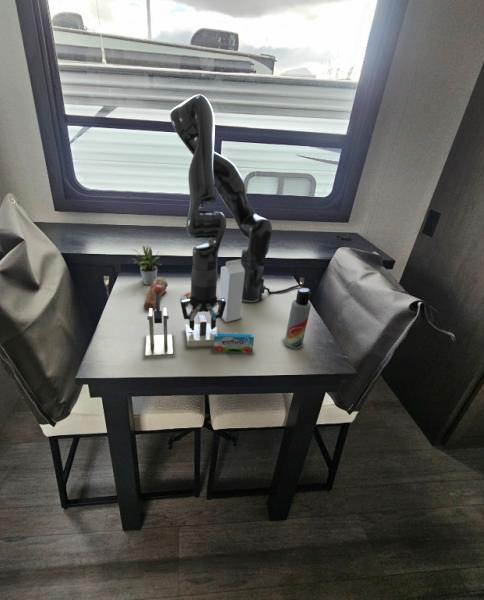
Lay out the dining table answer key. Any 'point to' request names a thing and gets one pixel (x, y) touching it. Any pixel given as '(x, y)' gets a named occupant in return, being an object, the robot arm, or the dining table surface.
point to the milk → (232, 289)
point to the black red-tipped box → (202, 325)
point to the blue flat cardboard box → (233, 343)
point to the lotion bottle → (298, 319)
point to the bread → (151, 297)
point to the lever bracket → (158, 338)
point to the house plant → (148, 266)
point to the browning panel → (196, 339)
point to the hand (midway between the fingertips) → (202, 328)
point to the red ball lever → (157, 303)
